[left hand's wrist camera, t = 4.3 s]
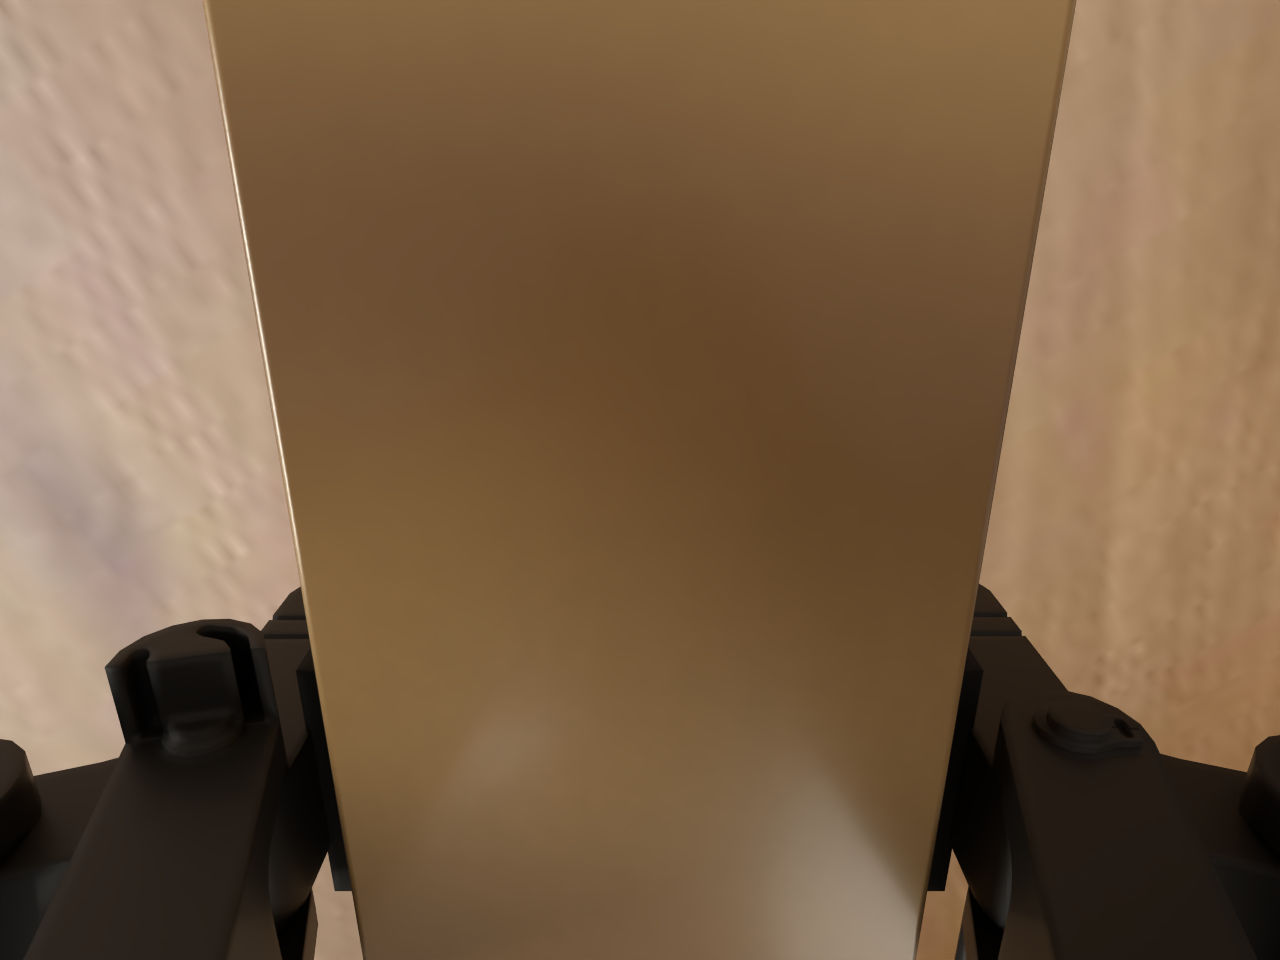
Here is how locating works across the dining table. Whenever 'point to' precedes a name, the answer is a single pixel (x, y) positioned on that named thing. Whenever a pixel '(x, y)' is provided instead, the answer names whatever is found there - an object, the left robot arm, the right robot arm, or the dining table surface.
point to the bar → (639, 443)
